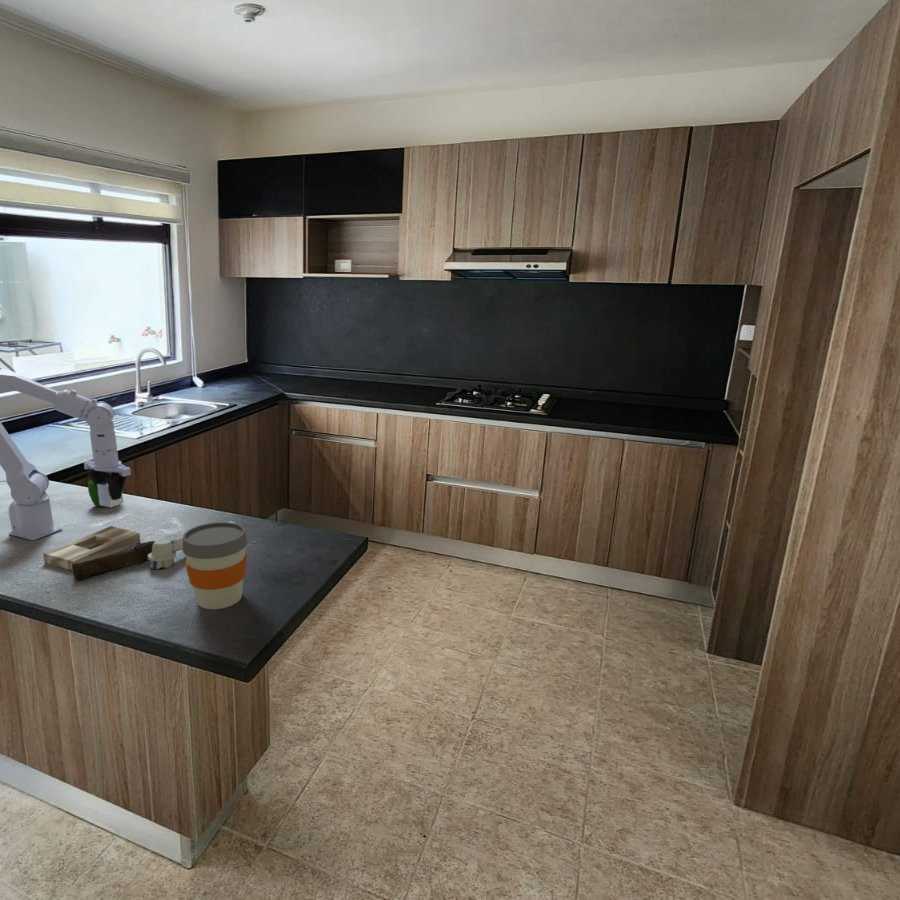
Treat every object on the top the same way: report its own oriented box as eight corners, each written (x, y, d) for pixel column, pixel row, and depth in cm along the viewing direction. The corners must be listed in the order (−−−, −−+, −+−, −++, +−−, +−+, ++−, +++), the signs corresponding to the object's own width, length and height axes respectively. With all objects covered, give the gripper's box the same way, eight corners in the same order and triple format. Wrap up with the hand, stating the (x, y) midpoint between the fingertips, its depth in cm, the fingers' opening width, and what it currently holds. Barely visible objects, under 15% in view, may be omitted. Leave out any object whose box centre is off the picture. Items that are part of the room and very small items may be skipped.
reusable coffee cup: (231, 578, 135) (226, 517, 131) (262, 597, 128) (258, 533, 124) (176, 598, 126) (169, 533, 122) (206, 621, 118) (200, 551, 114)
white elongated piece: (242, 521, 158) (157, 543, 136) (240, 546, 159) (157, 571, 136) (227, 517, 160) (142, 538, 138) (226, 541, 161) (142, 565, 139)
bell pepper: (87, 503, 177) (82, 471, 174) (118, 497, 182) (114, 466, 179) (94, 512, 171) (89, 478, 168) (125, 505, 176) (121, 473, 173)
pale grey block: (99, 505, 159) (96, 483, 158) (112, 500, 163) (110, 479, 161) (110, 507, 158) (108, 486, 156) (123, 502, 162) (121, 481, 160)
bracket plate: (44, 563, 140) (43, 553, 139) (111, 534, 156) (110, 526, 155) (75, 571, 136) (73, 561, 136) (140, 541, 152) (139, 532, 152)
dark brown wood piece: (76, 584, 131) (73, 565, 130) (72, 577, 134) (69, 558, 133) (166, 560, 143) (165, 543, 142) (161, 554, 146) (159, 537, 145)
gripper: (138, 448, 157) (143, 497, 161) (98, 442, 162) (104, 489, 166) (114, 455, 151) (120, 505, 155) (74, 448, 156) (80, 496, 160)
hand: (110, 497), depth 160 cm, fingers closed on pale grey block, 4 cm apart
